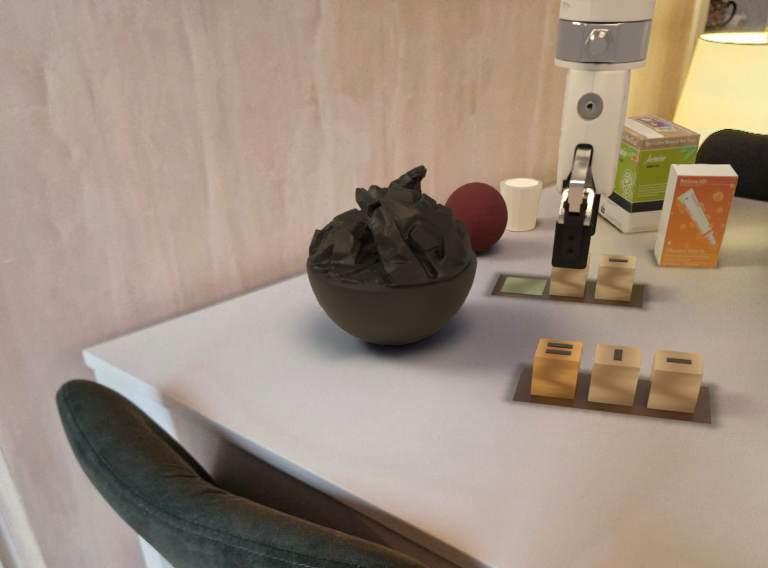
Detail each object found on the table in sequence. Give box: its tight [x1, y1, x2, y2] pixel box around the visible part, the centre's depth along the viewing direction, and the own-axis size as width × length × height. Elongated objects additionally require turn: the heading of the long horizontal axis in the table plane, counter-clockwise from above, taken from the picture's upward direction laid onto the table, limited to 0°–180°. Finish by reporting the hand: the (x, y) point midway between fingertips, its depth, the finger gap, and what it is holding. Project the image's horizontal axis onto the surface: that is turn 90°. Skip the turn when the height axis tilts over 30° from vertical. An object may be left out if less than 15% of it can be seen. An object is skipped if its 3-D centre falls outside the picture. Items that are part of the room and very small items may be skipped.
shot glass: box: [499, 177, 544, 232], centre depth 126 cm, size 7×7×7 cm
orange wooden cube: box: [531, 337, 584, 400], centre depth 82 cm, size 5×5×5 cm
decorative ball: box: [444, 181, 508, 253], centre depth 116 cm, size 10×10×10 cm
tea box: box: [595, 114, 701, 234], centre depth 124 cm, size 15×10×15 cm
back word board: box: [490, 252, 645, 309], centre depth 103 cm, size 20×8×5 cm, turn 73°
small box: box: [653, 163, 739, 268], centre depth 109 cm, size 8×6×13 cm
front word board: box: [512, 343, 712, 425], centre depth 80 cm, size 20×8×5 cm, turn 73°
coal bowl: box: [305, 164, 478, 346], centre depth 89 cm, size 20×20×19 cm
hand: (573, 250), depth 74 cm, fingers open, 9 cm apart
